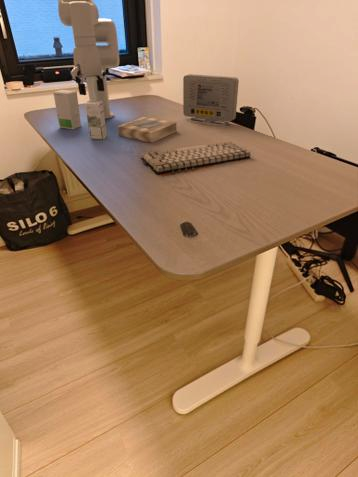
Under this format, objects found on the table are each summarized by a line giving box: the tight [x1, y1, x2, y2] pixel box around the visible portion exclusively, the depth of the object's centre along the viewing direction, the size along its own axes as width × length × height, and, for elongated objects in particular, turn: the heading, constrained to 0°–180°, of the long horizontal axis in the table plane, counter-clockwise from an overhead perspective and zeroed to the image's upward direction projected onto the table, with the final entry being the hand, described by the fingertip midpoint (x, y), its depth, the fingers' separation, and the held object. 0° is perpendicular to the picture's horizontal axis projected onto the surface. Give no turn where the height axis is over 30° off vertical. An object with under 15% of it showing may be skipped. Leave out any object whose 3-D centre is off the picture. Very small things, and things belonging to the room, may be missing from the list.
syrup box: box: [84, 100, 108, 141], centre depth 139 cm, size 6×6×14 cm
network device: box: [182, 73, 240, 127], centre depth 156 cm, size 26×9×20 cm, turn 62°
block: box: [179, 221, 199, 238], centre depth 82 cm, size 4×6×2 cm, turn 16°
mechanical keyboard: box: [140, 141, 252, 177], centre depth 121 cm, size 38×19×3 cm, turn 115°
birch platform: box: [117, 116, 177, 143], centre depth 146 cm, size 18×18×4 cm
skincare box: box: [53, 89, 82, 130], centre depth 152 cm, size 8×7×16 cm
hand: (92, 92), depth 132 cm, fingers open, 9 cm apart
